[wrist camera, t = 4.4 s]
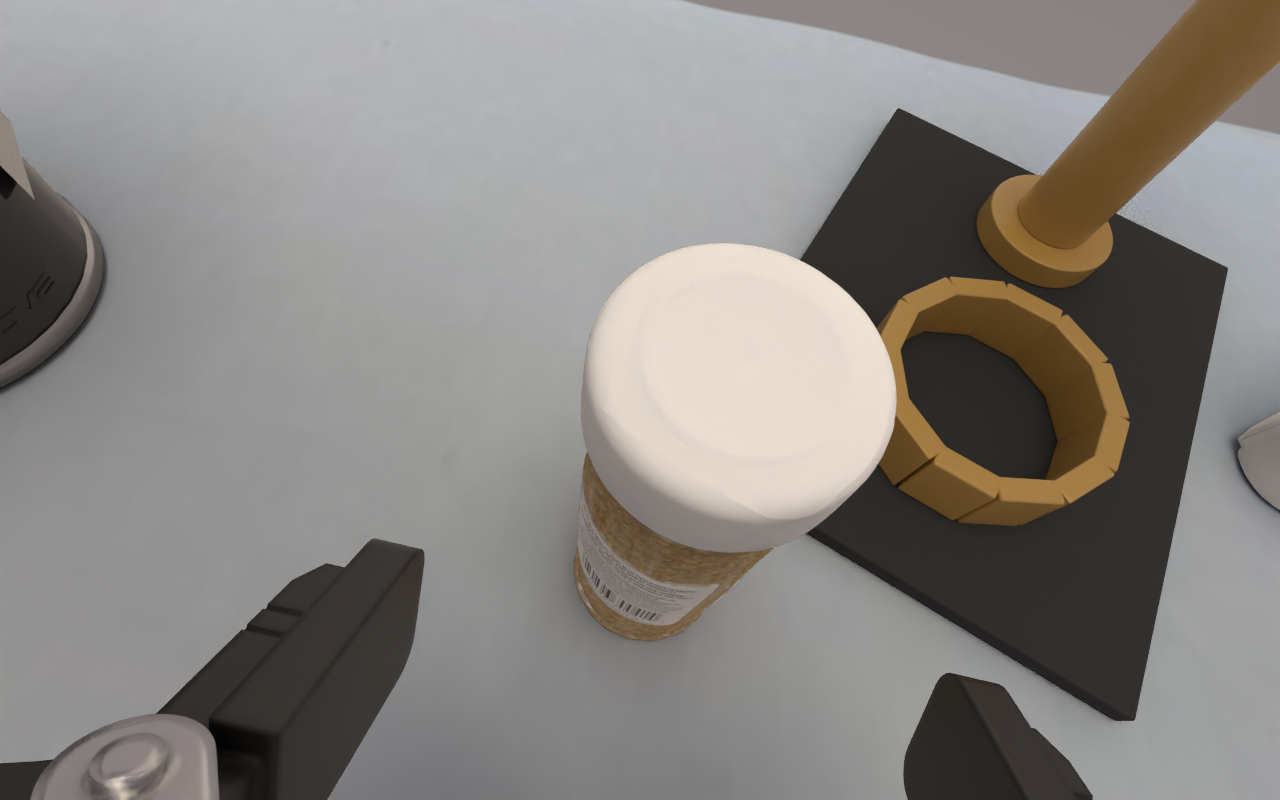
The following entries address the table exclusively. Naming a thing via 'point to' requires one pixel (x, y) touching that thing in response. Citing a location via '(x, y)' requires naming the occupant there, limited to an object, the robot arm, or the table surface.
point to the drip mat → (1024, 420)
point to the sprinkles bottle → (718, 427)
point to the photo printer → (1263, 458)
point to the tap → (1069, 268)
